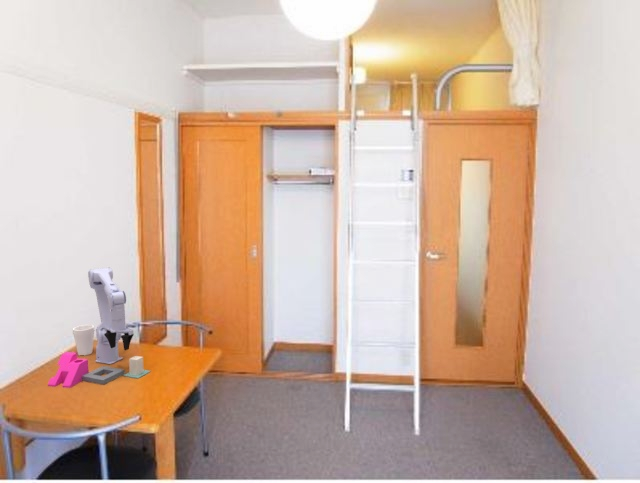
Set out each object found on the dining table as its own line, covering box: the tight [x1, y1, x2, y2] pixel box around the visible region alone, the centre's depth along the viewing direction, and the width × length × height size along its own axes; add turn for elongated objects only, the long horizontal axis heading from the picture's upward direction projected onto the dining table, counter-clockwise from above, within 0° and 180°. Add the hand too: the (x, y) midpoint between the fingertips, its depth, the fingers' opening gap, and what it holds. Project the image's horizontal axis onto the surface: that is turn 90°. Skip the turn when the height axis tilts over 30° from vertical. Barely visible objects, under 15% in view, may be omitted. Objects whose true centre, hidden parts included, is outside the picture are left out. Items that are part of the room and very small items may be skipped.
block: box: [128, 355, 145, 376], centre depth 210 cm, size 4×4×7 cm
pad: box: [122, 369, 152, 380], centre depth 210 cm, size 8×8×1 cm
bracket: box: [47, 351, 90, 389], centre depth 202 cm, size 12×10×10 cm
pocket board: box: [81, 365, 126, 385], centre depth 207 cm, size 12×12×2 cm
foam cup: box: [72, 324, 95, 356], centre depth 235 cm, size 10×9×13 cm
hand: (119, 348), depth 212 cm, fingers open, 7 cm apart
